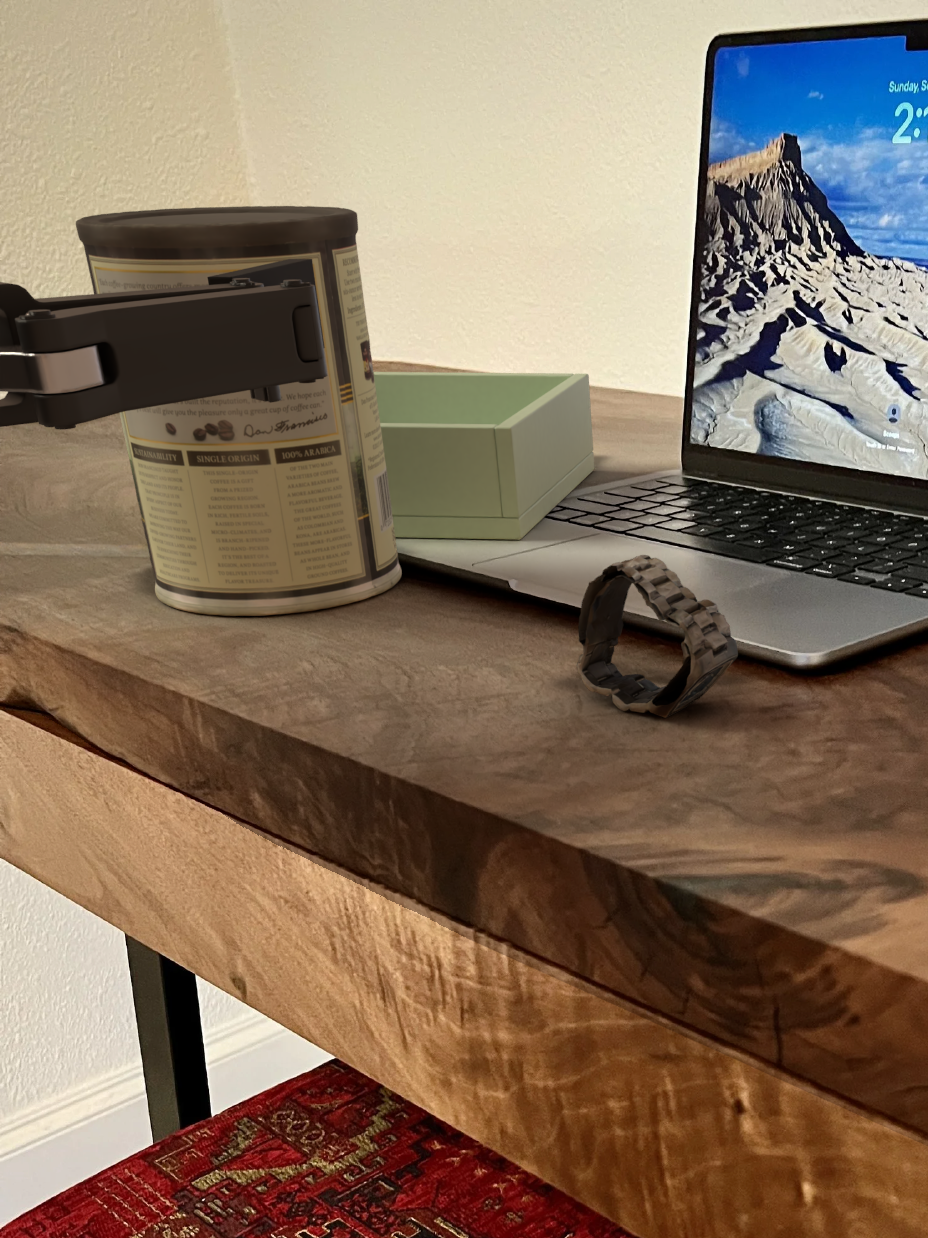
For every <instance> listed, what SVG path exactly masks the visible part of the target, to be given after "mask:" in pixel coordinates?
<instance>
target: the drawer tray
mask: <svg viewBox="0 0 928 1238" xmlns="http://www.w3.org/2000/svg"><path fill="white" fill-rule="evenodd" d="M373 372H374V380H375V388H376V396H377V403H378V411H379V418H380V425H381V433H382V440H383V448H384V455H385V463H386V469H387V476H388V485H389V493H390V500H391V508H392V517H393V524H394V532H395V538H410V539H411V538H414V539H415V538H416V539H459V540H460V539H462V540H463V539H464V540H465V539H470V540H512V541H513V540H514V541H515V540H516V541H517V540H522V539H523V538H524V537H525V536H526V535H527V534H528V533H529V532H530V531H531V530H533V528H534V527H536V526H537V525H538V524H539V523H540V521H542V520H543V519H544V518H545V517H546V516H548V514H549V513H550V512H551V511H552V510H553V509H554V508H556V507H557V505H559V504H560V503H561V502H562V501H563V500H564V499H565V498H566V497H567V496H569V494H570V493H571V492H572V491H573V490H575V489H576V488H577V487H578V486H579V485H580V484H581V482H583V481H584V480H585V479H586V478H587V477H588V476H589V475H590V474H591V473H592V472H594V470H595V468H596V467H595V453H594V439H593V438H594V437H593V436H594V435H593V423H592V406H591V405H592V404H591V389H590V376H589V373H567V372H565V373H560V372H559V373H558V372H557V373H554V372H553V373H551V372H547V373H546V372H455V371H454V372H453V371H452V372H449V371H448V372H445V371H443V372H442V371H441V372H440V371H439V372H438V371H437V372H434V371H373Z"/></svg>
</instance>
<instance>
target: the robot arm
mask: <svg viewBox="0 0 928 1238" xmlns="http://www.w3.org/2000/svg"><path fill="white" fill-rule="evenodd" d="M207 278H208V283H209V285H204V286H192V287H179V288H166V289H153V290H140V291H128V292H115V293H102V294H94V293H91V294H89V293H88V294H77V295H65V296H53V297H39V298H34V297H33V296H32V294H31V293H30V292H29V291H28V290H27V288H25V287H23V286H21V285H20V284H16V283H10V282H3V281H0V392H5V393H6V395H5V396H4V397H3V398H1V399H0V428H4V427H12V426H21V425H27V424H36V423H38V425H40V426H44V427H46V428H54V429H55V430H59V431H60V430H61V431H62V430H72V429H76V428H77V425H79V424H85V423H88V422H92V421H95V420H99V419H102V418H105V417H109V416H112V415H117V414H120V412H124V411H130V410H136V409H142V408H148V407H153V406H159V405H165V404H171V403H177V402H183V401H189V400H194V399H200V398H206V397H212V396H218V395H224V394H230V393H236V392H241V391H247V390H250V394H251V398H252V399H256V400H261V401H265V402H266V401H269V402H270V403H272V402H277V401H280V400H281V393H280V387H279V385H283V384H288V383H294V382H299V383H314V382H316V379H324V377H326V376H328V375H327V368H326V361H325V354H324V348H325V347H324V340H323V333H322V326H321V319H320V312H319V305H318V298H317V291H316V284H315V277H314V270H313V263H312V259H288V260H283V261H278V262H274V263H269V264H265V265H260V266H255V267H251V268H246V269H242V270H237V271H233V272H228V273H223V274H219V275H214V276H210V277H207Z"/></svg>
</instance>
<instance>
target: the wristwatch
mask: <svg viewBox="0 0 928 1238" xmlns="http://www.w3.org/2000/svg"><path fill="white" fill-rule="evenodd" d="M632 584H633V586H634V587H635V588H636V590H637V591H638V593H639V594H640V595H641V596H642V599H643V600H644V602H645V606H647V607H649V608H650V610H652V611H653V612H654V614H655V616H656V617H657V619H658V620H659V622H663V621H665V622H666V623H667V624H668V625H672V626H673V627H675V628H680V629H682V630H683V636H684V640H683V641H682V642H681V644H680V645H681V649H682V650H681V651H682V653H683V655H682V656H683V658H682V665H681V666H680V668H679V669H678V671H677V672H676V674H674V676H673V677H672V678H671V679H670V680H669V681H668V683H667V684H666V685H665V686H661V687H660V686H658V685H656V683H654V682H652V681H651V680H650V679H647V678H646V677H645V676H644V674H640V673H633V674H631V673H630V674H625V675H623V674H622V673H621V671H620V669H618V666H617V665H616V664H614V663H613V662H612V659H613V655H614V653H615V646H618V644H619V637H621V635H622V631H623V628H624V621H623V615H624V611H625V610H624V609H625V604H626V600H627V597H628V594H629V590H630V588H631V586H632ZM577 629H578V630H577V631H578V632H577V633H578V636H577V639H578V640H577V641H578V643H580V644H581V646H582V653H581V654H580V655H579V656H578V659H577V663H576V664H575V666H576V671H577V674H578V675H579V676H580V677H581V680H582V682H583V685H584V686H585V687H586V688H587V689H588V691H589V692H592V693H596V694H599V695H601V696H606V697H611V696H612V699H611V700H612V703H613V704H614V705H615V706H616V707H617V708H618V710H620V711H623V712H626V711H628V710H630V711H631V712H637V713H642V714H643V713H644V714H645V713H647V712H650V713H651V714H653V715H656V716H658V717H663V718H668V717H670V716H673V715H674V714H676V713H678V712H680V711H683V710H684V709H686V708H687V707H689V706H690V705H691V704H692V703H694V702H696V701H698V700H700V699H701V698H702V697H703V696H704V695H705V694H706V693H707V692H708V691H709V690H710V689H711V688H712V687H713V686H714V685H715V684H716V683H717V682H718V681H719V680H720V679H721V678H722V677H723V675H724V674H725V673H726V671H727V670H729V668H730V667H731V666H732V664H734V662H735V661H736V660H737V658H738V656H739V652H738V644H737V640H736V639H735V638H734V637H733V636H732V633H731V632H732V631H731V624H730V623H729V622H728V620H727V618H726V616H725V614H723V613H721V612H720V611H719V608H718V605H717V603H715V602H713V601H712V600H709V599H702V600H698V599H697V597H696V595H695V594H694V592H692V590H690V589H689V588H688V587H687V586H683V584H682V582H681V579H680V578H679V576H678V575H677V573H676V572H674V571H673V570H671V569H669V568H668V566H667V564H666V562H664V561H662V560H661V559H660V558H657V557H651V556H650V555H648V554H640V555H636V556H635V557H632V558H630V559H626V560H623V561H617V562H613V563H611V564H610V565H609V566H607V567H605V568H604V569H603V570H602V573H601V574H600V575H598V576H597V577H595V578H594V580H591V581H589V582H588V585H587V588H586V589H585V592H584V595H583V597H582V600H581V604H580V613H579V616H578V626H577Z"/></svg>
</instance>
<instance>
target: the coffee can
mask: <svg viewBox="0 0 928 1238" xmlns="http://www.w3.org/2000/svg"><path fill="white" fill-rule="evenodd" d="M75 226H76V227H75V228H76V231H77V232H76V233H77V235H78V239H79V241H80V242H81V243H82V245H83V248H84V254H85V258H86V263H87V267H88V272H89V275H90V276H89V277H90V281H91V286H92V291H93V294H102V293H115V292H128V291H140V290H153V289H166V288H179V287H192V286H204V285H209V283H208V278H207V277H210V276H214V275H219V274H223V273H228V272H233V271H237V270H242V269H246V268H251V267H255V266H260V265H265V264H269V263H274V262H278V261H283V260H288V259H312V263H313V270H314V277H315V284H316V291H317V298H318V305H319V312H320V319H321V326H322V333H323V340H324V347H325V348H324V354H325V361H326V368H327V375H328V376H326V377H324V379H316V382H314V383H299V382H294V383H288V384H283V385H279V387H280V393H281V400H280V401H277V402H272V403H270V402H269V401H266V402H265V401H261V400H256V399H252V398H251V394H250V390H247V391H241V392H236V393H230V394H224V395H218V396H212V397H206V398H200V399H194V400H189V401H183V402H177V403H171V404H165V405H159V406H153V407H148V408H142V409H136V410H130V411H124V412H120V413H119V417H120V422H121V426H122V432H123V435H124V441H125V445H126V446H125V447H126V450H127V456H128V461H129V465H130V469H131V475H132V480H133V484H134V489H135V495H136V500H137V504H138V508H139V512H140V517H141V518H140V519H141V524H142V527H143V532H144V538H145V541H146V545H147V551H148V555H149V561H150V564H151V565H150V566H151V568H152V573H153V577H154V581H155V584H154V593H155V595H156V598H157V599H158V600H159V602H161V603H162V604H163V605H166V606H168V607H171V608H173V609H175V610H181V611H184V612H189V613H196V614H203V615H211V616H226V617H236V616H237V617H238V616H240V617H241V616H242V617H243V616H248V617H250V616H252V617H253V616H254V617H255V616H257V617H258V616H260V617H261V616H272V615H275V616H276V615H285V614H295V613H305V612H313V611H319V610H324V609H331V608H334V607H339V606H344V605H348V604H352V603H355V602H359V601H363V600H366V599H369V598H372V597H374V596H377V595H380V594H382V593H385V592H387V591H388V590H390V589H392V588H394V586H395V585H396V584H398V582H399V581H400V580H401V578H402V574H403V573H402V567H401V565H400V562H399V553H398V548H397V541H396V540H397V539H396V537H395V532H394V524H393V517H392V508H391V500H390V493H389V485H388V476H387V469H386V463H385V455H384V448H383V440H382V433H381V425H380V418H379V411H378V403H377V396H376V388H375V380H374V372H375V371H374V367H373V358H372V351H371V341H370V333H369V326H368V320H367V313H366V307H365V298H364V289H363V282H362V275H361V268H360V259H359V254H358V252H359V251H358V244H357V234H358V231H359V221H358V213H357V212H356V211H355V210H352V209H349V208H346V207H337V206H311V205H310V206H309V205H306V206H302V205H300V206H298V205H297V206H296V205H266V206H263V205H255V206H251V205H250V206H249V205H247V206H246V205H245V206H211V207H210V206H209V207H202V206H201V207H199V206H198V207H182V208H160V209H159V208H158V209H150V210H149V209H148V210H135V211H134V210H133V211H131V210H130V211H129V210H128V211H120V212H110V213H101V214H94V215H93V214H92V215H87V216H83V217H80V218H79V219H77V220H75Z"/></svg>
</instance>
